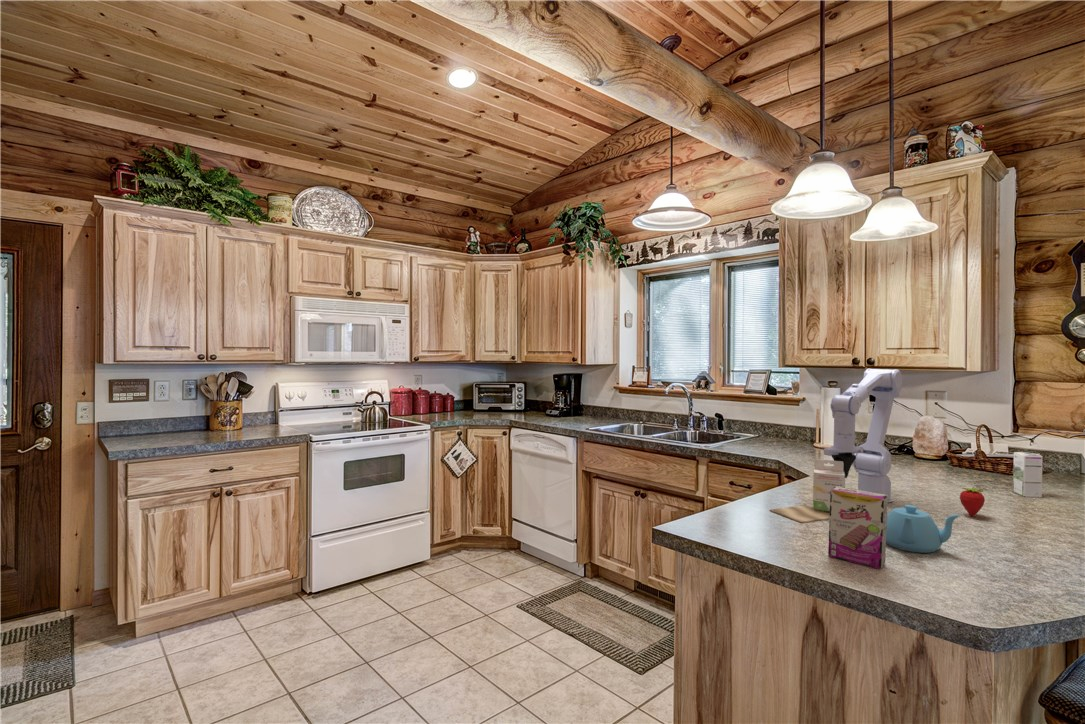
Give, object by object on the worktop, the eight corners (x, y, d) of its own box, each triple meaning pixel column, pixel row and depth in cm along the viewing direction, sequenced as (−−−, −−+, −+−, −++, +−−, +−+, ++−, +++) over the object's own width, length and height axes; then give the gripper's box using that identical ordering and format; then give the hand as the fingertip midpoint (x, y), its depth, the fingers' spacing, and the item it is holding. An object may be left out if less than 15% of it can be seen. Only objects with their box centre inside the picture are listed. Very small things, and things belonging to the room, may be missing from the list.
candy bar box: (827, 557, 127) (829, 489, 127) (832, 551, 131) (834, 485, 131) (882, 570, 120) (884, 498, 120) (886, 564, 124) (888, 493, 123)
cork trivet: (804, 506, 168) (804, 505, 168) (837, 518, 157) (837, 516, 157) (769, 511, 164) (769, 509, 163) (801, 523, 152) (801, 521, 152)
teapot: (915, 535, 143) (916, 497, 143) (964, 557, 128) (965, 514, 128) (863, 536, 142) (864, 498, 142) (906, 558, 127) (907, 515, 127)
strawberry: (957, 516, 160) (958, 483, 160) (960, 511, 165) (961, 479, 165) (982, 521, 156) (983, 487, 155) (985, 515, 161) (986, 482, 161)
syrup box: (1042, 497, 181) (1044, 455, 181) (1022, 496, 183) (1024, 454, 182) (1031, 493, 187) (1032, 452, 187) (1011, 492, 188) (1012, 451, 188)
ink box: (813, 509, 164) (812, 462, 163) (813, 504, 168) (813, 458, 167) (845, 513, 160) (845, 464, 159) (844, 508, 164) (844, 461, 163)
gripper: (849, 430, 172) (848, 472, 172) (815, 432, 167) (814, 476, 167) (870, 434, 165) (868, 477, 165) (835, 436, 160) (834, 481, 160)
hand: (843, 477), depth 166 cm, fingers closed
